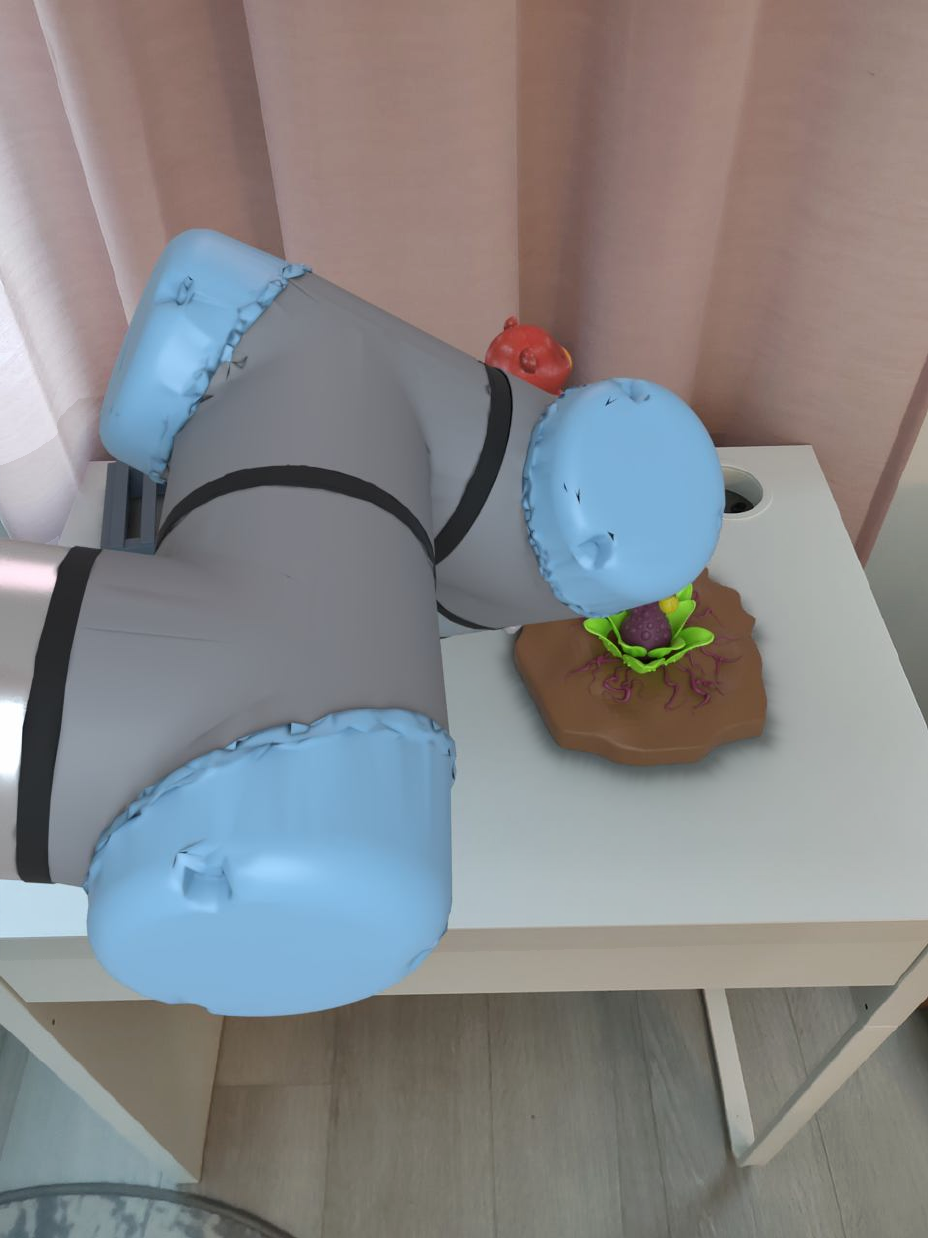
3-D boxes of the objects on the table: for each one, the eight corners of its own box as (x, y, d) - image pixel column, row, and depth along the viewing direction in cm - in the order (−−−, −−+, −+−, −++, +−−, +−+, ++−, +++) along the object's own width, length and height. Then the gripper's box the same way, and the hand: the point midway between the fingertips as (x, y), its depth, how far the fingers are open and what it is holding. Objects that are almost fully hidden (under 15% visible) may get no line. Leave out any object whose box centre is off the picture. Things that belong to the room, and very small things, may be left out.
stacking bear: (586, 528, 92) (604, 363, 78) (478, 541, 91) (477, 376, 77) (561, 453, 99) (573, 290, 85) (460, 464, 98) (456, 302, 84)
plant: (543, 786, 74) (551, 695, 65) (496, 594, 86) (498, 497, 78) (802, 748, 75) (842, 655, 67) (719, 566, 88) (744, 468, 80)
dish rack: (111, 580, 88) (98, 548, 85) (118, 491, 96) (106, 459, 93) (292, 556, 90) (285, 523, 87) (284, 470, 98) (278, 438, 95)
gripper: (283, 772, 40) (158, 757, 60) (629, 508, 50) (426, 568, 70) (179, 617, 39) (86, 653, 58) (556, 376, 49) (370, 475, 68)
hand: (271, 606), depth 64 cm, fingers closed on plastic cup, 9 cm apart
